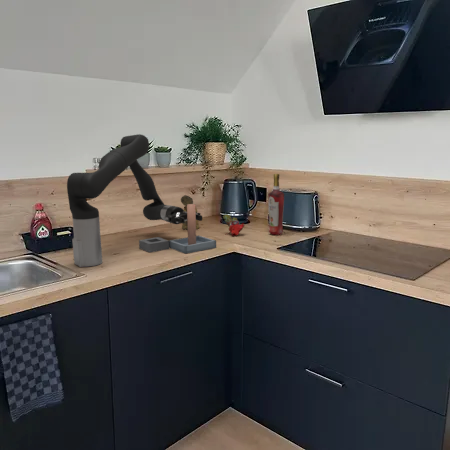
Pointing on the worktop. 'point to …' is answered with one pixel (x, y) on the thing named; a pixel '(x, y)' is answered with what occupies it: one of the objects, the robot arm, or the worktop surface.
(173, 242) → the tray
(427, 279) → the worktop surface
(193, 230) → the dowel
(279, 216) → the liquor
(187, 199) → the olive lidded jar
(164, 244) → the socket block
